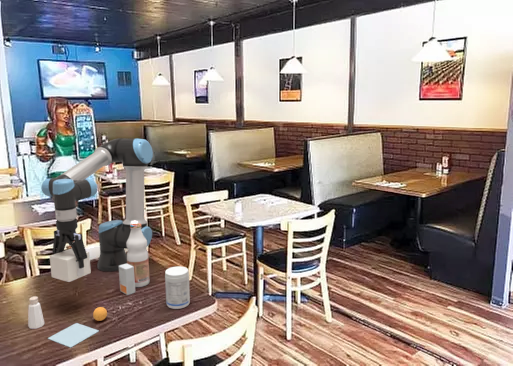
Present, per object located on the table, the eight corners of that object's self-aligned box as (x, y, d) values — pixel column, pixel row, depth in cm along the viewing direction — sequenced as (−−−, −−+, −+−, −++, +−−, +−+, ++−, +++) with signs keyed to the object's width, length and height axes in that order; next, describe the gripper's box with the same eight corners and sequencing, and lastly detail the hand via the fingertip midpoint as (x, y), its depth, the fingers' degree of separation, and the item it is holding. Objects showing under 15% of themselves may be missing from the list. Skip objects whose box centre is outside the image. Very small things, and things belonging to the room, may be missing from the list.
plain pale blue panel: (76, 323, 159) (76, 322, 159) (99, 331, 153) (99, 330, 153) (47, 338, 148) (47, 338, 148) (70, 347, 143) (70, 347, 143)
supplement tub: (169, 299, 178) (167, 265, 175) (191, 299, 178) (190, 265, 175) (164, 310, 168) (162, 275, 166) (187, 309, 168) (186, 275, 166)
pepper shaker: (27, 330, 154) (24, 302, 152) (28, 323, 159) (25, 296, 157) (44, 327, 156) (41, 299, 154) (45, 320, 161) (42, 293, 159)
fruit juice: (124, 287, 190) (120, 226, 185) (134, 278, 199) (130, 221, 194) (144, 288, 188) (140, 227, 183) (153, 280, 197) (150, 222, 192)
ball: (101, 315, 164) (100, 303, 163) (110, 318, 162) (109, 306, 161) (90, 321, 160) (89, 309, 159) (100, 324, 158) (99, 312, 157)
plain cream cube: (73, 268, 175) (72, 248, 174) (90, 272, 171) (89, 252, 169) (51, 277, 167) (49, 255, 165) (68, 282, 162) (66, 260, 160)
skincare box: (119, 291, 186) (118, 265, 183) (128, 288, 189) (126, 262, 186) (127, 295, 181) (125, 269, 179) (135, 292, 185) (134, 266, 182)
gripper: (39, 217, 167) (44, 271, 171) (78, 225, 156) (82, 282, 160) (56, 213, 173) (60, 264, 177) (94, 220, 162) (98, 275, 166)
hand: (71, 273), depth 168 cm, fingers closed on plain cream cube, 10 cm apart
